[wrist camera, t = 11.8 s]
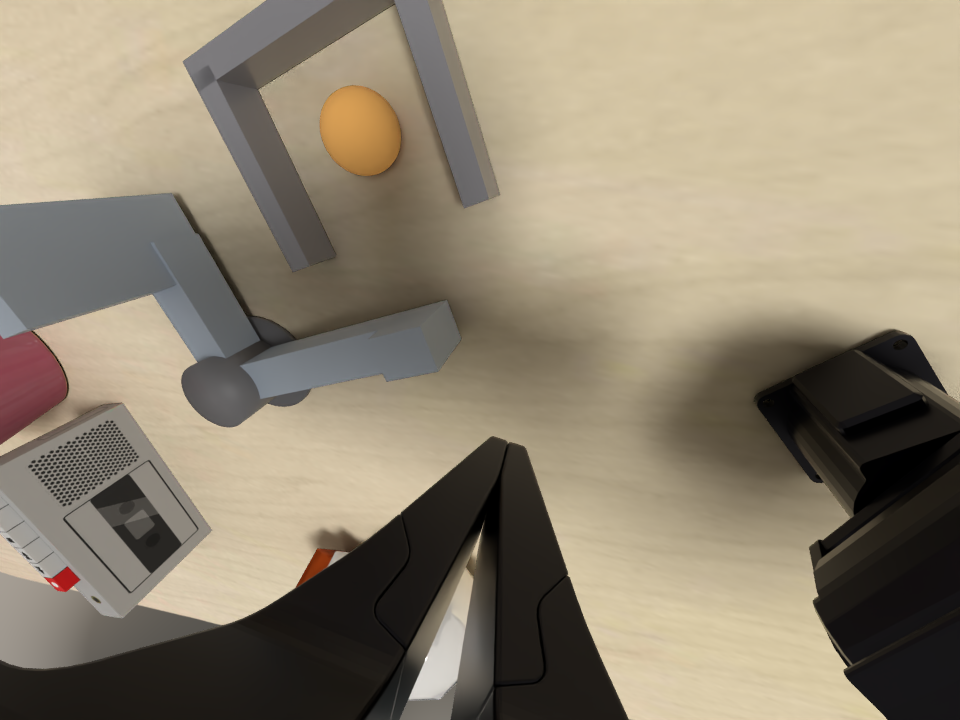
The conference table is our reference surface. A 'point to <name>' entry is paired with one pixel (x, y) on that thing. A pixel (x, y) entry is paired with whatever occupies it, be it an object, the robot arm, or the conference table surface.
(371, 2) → the pocket
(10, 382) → the plant pot
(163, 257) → the lever
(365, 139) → the ball
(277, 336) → the pivot plate
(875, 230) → the conference table surface
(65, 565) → the cassette player
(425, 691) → the potion bottle
